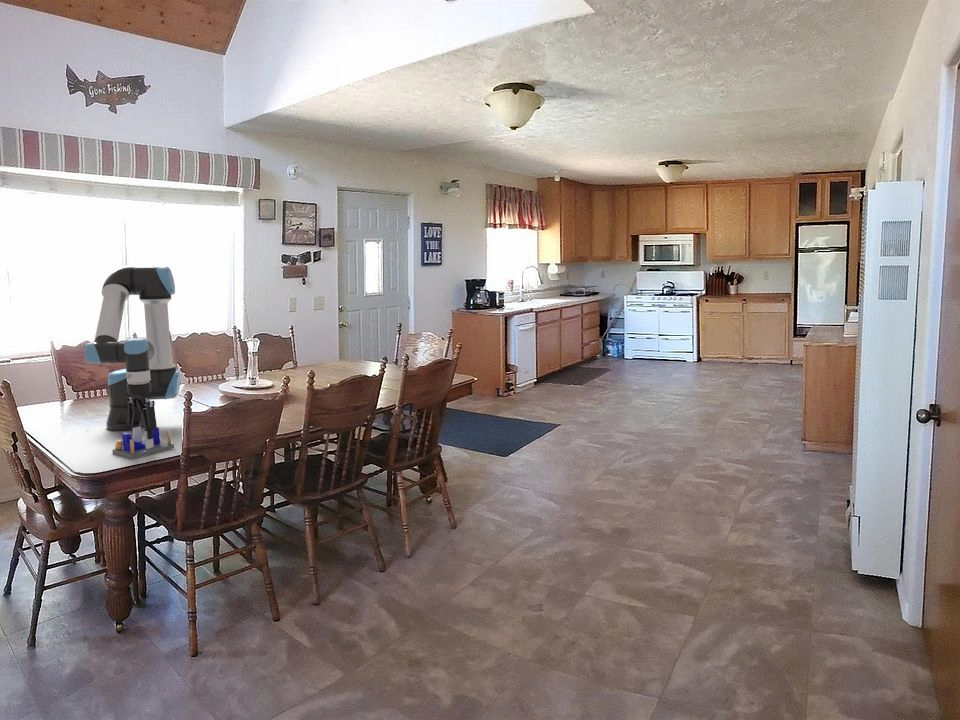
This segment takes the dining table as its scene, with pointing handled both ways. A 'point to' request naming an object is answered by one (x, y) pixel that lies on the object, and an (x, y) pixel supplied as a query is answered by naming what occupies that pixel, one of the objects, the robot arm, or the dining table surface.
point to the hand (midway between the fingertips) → (143, 446)
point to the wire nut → (119, 445)
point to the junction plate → (143, 452)
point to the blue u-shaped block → (139, 445)
